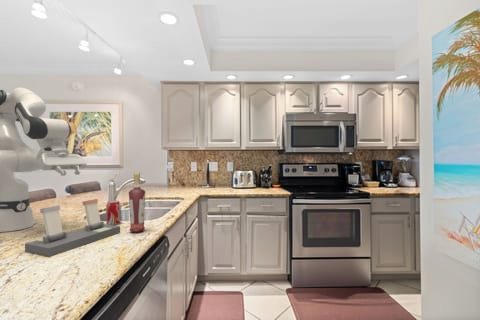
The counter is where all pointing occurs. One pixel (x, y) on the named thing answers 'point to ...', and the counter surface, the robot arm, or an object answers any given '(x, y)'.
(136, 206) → the liquor
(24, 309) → the counter surface
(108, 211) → the soda can
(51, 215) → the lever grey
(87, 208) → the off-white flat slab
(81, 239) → the switch board
